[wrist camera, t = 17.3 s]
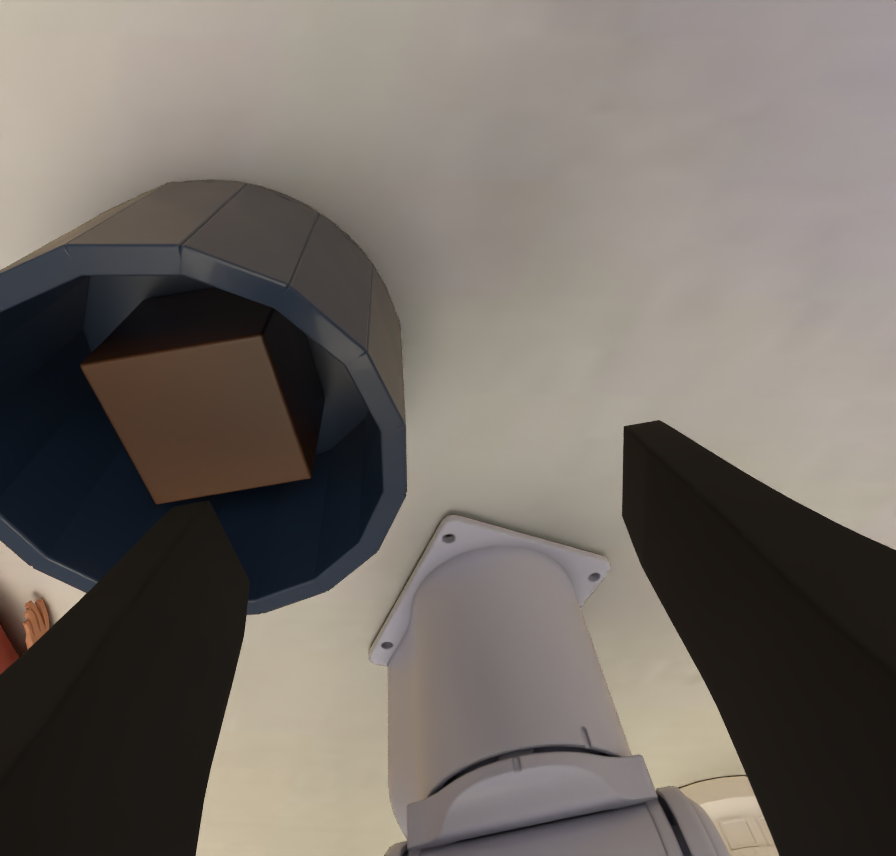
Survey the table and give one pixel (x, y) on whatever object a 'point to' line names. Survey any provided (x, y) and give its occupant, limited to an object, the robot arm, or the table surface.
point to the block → (209, 394)
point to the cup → (94, 438)
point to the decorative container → (734, 815)
